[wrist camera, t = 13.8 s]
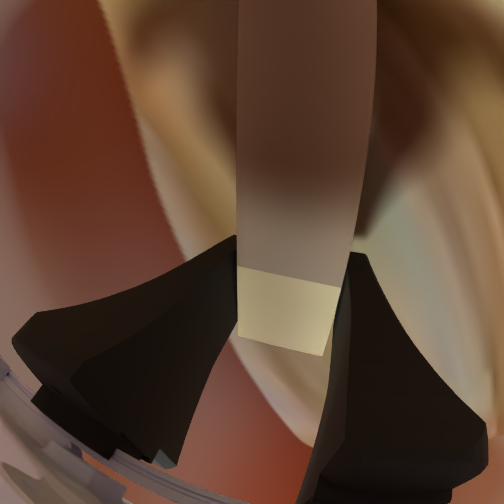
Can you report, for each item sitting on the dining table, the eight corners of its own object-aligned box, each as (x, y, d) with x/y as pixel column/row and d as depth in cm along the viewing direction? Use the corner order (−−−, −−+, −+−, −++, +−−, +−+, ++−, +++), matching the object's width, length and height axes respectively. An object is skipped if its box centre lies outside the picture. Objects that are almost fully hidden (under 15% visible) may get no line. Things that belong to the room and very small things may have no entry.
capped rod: (366, -62, 4) (365, -108, 2) (333, 300, 12) (322, 355, 9) (274, -65, 5) (242, -106, 3) (263, 285, 13) (238, 335, 10)
